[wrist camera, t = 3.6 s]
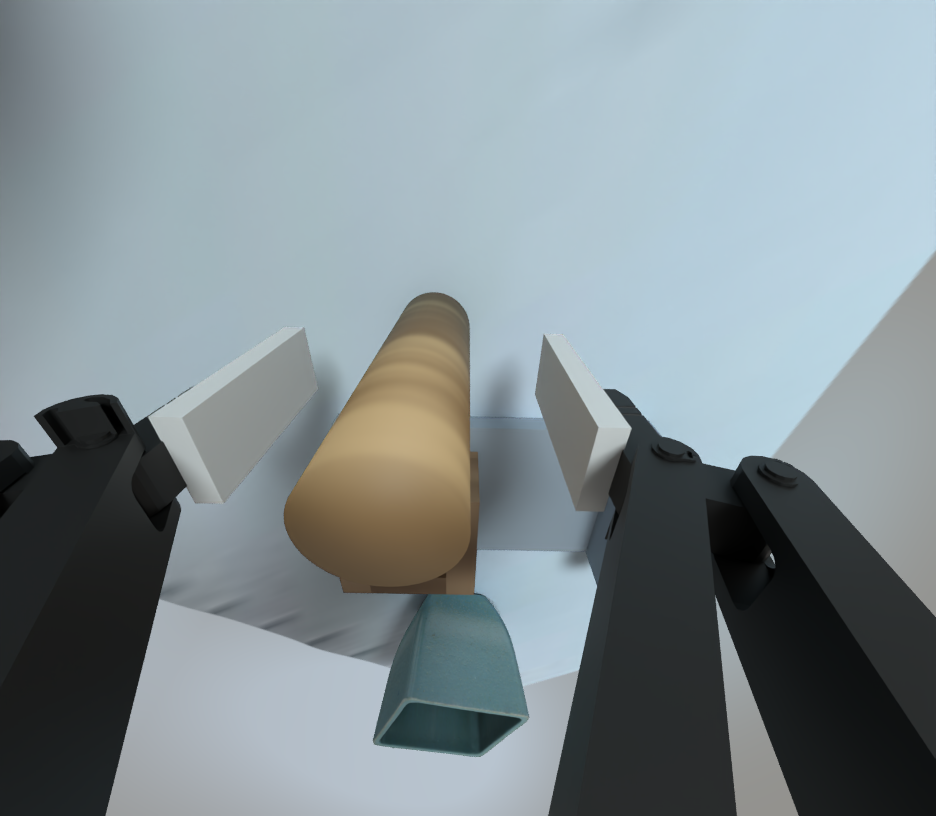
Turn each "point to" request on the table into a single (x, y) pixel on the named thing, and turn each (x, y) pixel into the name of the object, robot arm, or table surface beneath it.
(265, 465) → the table surface
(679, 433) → the table surface
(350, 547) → the dowel
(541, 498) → the board
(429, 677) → the flower pot
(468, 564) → the block
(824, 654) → the robot arm
